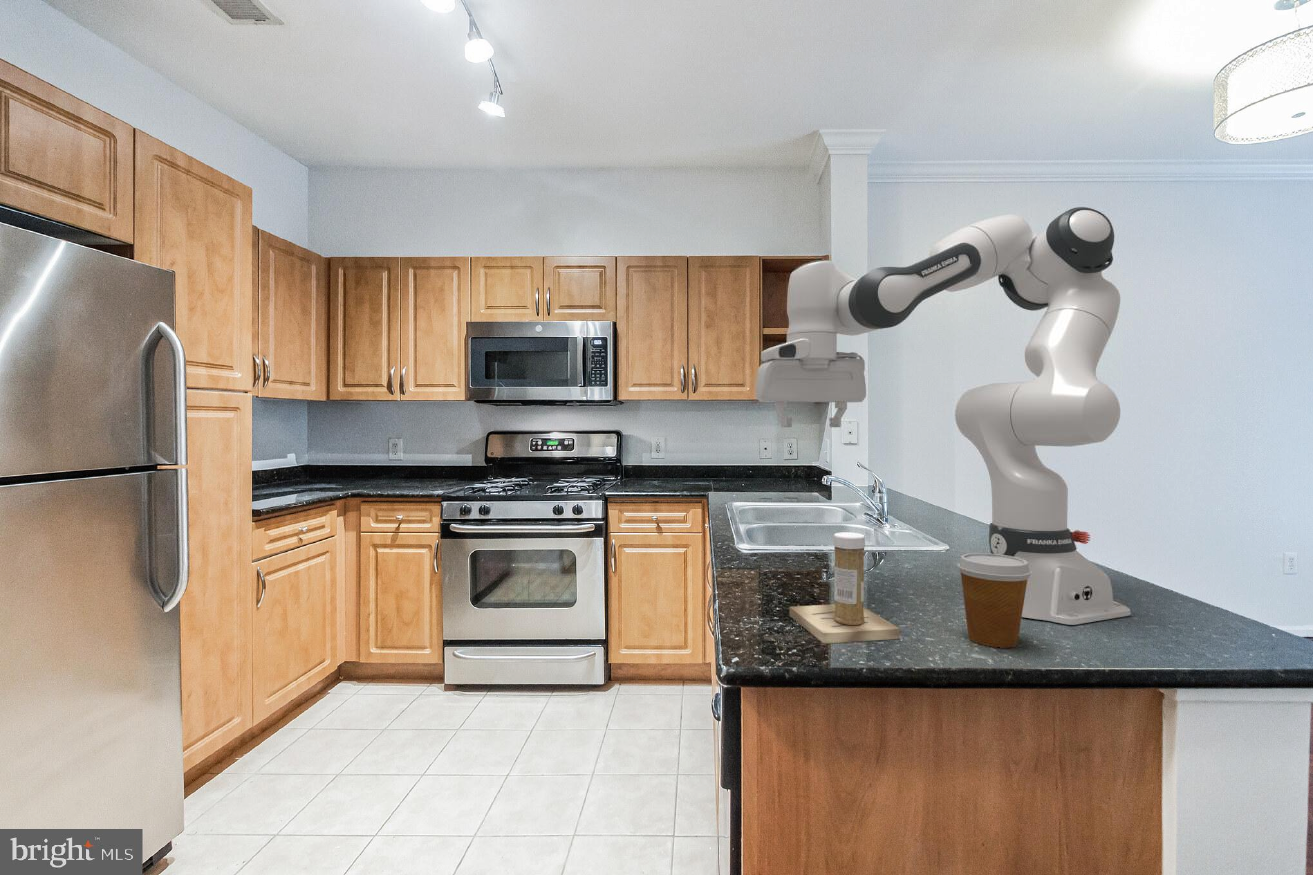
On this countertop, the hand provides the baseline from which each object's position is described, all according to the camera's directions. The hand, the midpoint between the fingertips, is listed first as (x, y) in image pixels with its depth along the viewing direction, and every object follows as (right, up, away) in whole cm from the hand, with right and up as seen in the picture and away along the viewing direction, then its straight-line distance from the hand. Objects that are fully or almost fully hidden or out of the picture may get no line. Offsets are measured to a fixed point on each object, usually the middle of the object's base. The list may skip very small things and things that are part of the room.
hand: (810, 427), depth 112 cm
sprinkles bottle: (+1, -30, -18) cm, 35 cm away
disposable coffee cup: (+21, -32, -22) cm, 44 cm away
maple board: (+1, -32, -16) cm, 35 cm away
